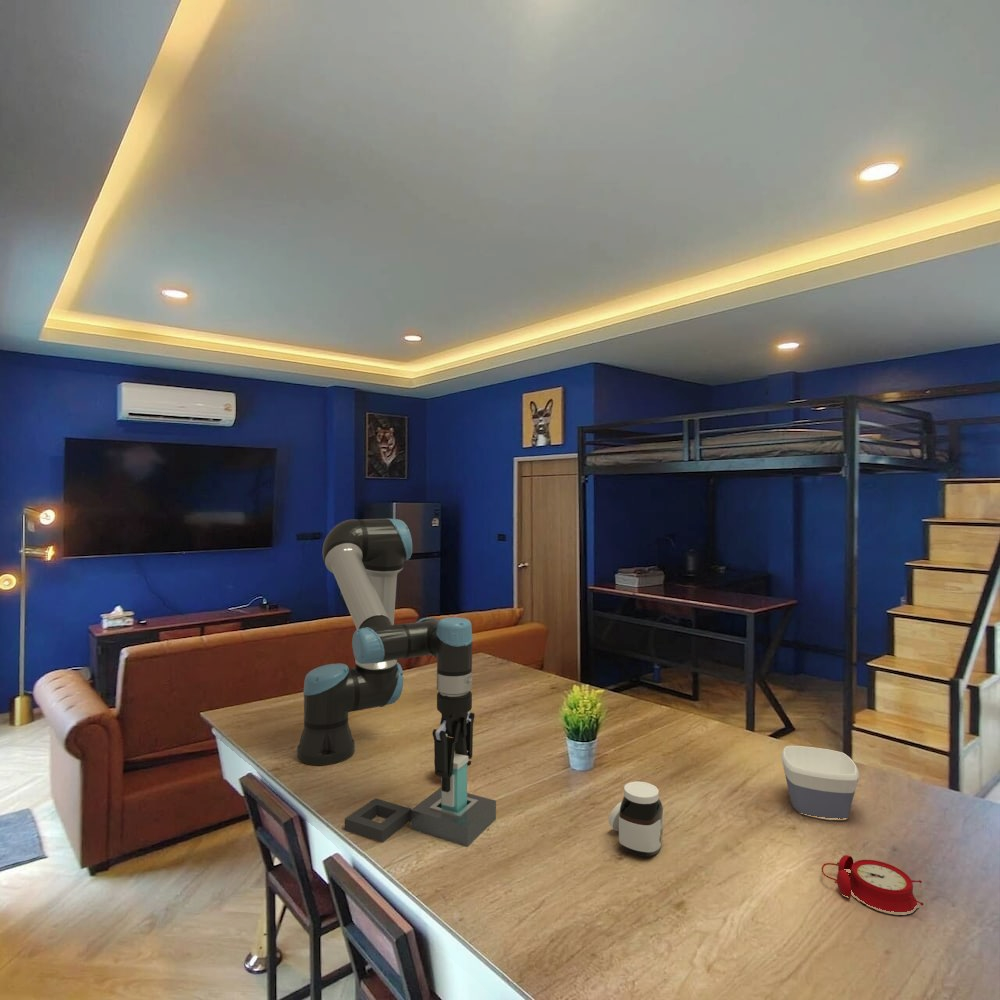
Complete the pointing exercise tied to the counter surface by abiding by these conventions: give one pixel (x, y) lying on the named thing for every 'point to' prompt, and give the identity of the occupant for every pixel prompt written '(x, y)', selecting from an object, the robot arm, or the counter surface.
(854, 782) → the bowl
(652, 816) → the spread jar
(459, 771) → the plug
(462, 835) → the port
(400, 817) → the dark grey square frame
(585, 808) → the counter surface
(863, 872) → the alarm clock
